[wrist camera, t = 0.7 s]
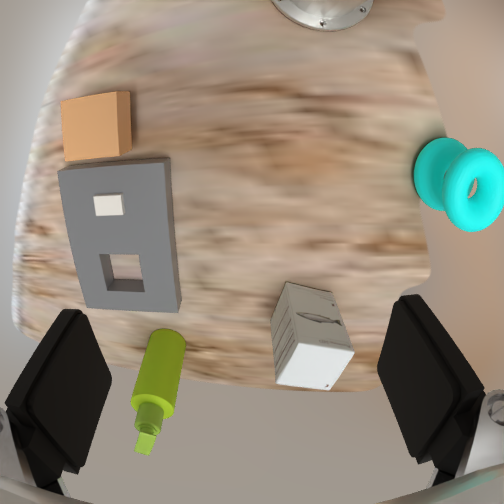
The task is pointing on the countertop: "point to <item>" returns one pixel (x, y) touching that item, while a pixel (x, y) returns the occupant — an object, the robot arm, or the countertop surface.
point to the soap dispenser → (157, 385)
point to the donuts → (460, 183)
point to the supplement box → (308, 338)
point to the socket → (122, 232)
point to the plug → (96, 126)
